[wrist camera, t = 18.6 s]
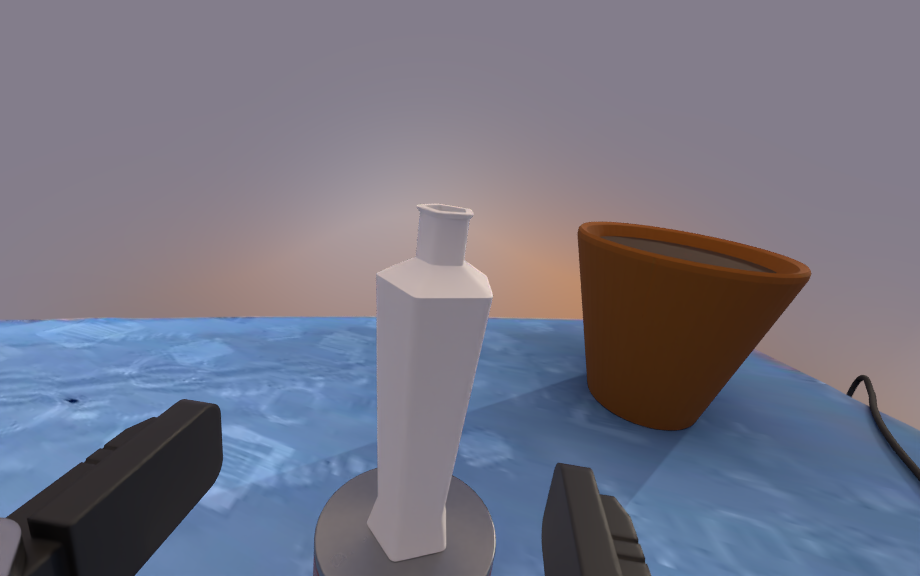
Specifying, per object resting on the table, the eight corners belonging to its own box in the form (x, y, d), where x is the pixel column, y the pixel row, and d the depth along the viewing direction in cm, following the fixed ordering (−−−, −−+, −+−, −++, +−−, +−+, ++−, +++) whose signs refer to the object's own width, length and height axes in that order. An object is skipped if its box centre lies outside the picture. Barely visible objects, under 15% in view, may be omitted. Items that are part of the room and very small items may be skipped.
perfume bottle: (340, 550, 19) (359, 204, 14) (384, 482, 23) (409, 195, 18) (440, 587, 18) (495, 228, 13) (467, 509, 22) (516, 212, 17)
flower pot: (559, 338, 70) (586, 214, 64) (723, 379, 63) (770, 245, 57) (532, 414, 49) (568, 239, 42) (775, 489, 42) (860, 293, 36)
